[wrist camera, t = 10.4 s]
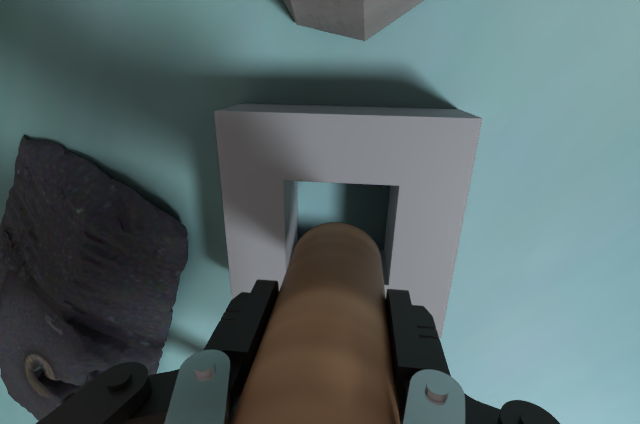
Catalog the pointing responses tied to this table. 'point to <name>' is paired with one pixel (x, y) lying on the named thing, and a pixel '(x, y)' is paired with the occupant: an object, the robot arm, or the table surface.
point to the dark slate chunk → (80, 276)
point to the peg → (325, 338)
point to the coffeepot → (348, 15)
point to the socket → (347, 167)
